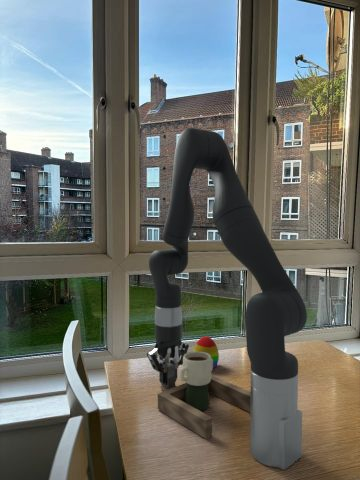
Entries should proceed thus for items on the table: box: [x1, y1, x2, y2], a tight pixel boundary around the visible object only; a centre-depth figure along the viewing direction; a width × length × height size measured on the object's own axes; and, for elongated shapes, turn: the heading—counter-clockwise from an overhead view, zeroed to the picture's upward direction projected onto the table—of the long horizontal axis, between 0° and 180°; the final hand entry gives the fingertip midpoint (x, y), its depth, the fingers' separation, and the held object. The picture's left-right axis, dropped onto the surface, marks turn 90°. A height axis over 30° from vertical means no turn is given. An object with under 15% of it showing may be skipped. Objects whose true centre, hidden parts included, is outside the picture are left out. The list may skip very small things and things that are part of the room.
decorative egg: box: [192, 335, 220, 371], centre depth 122 cm, size 8×8×10 cm
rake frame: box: [157, 362, 251, 439], centre depth 98 cm, size 26×18×7 cm
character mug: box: [179, 351, 214, 411], centre depth 97 cm, size 11×7×13 cm, turn 131°
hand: (168, 382), depth 107 cm, fingers closed on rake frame, 2 cm apart
